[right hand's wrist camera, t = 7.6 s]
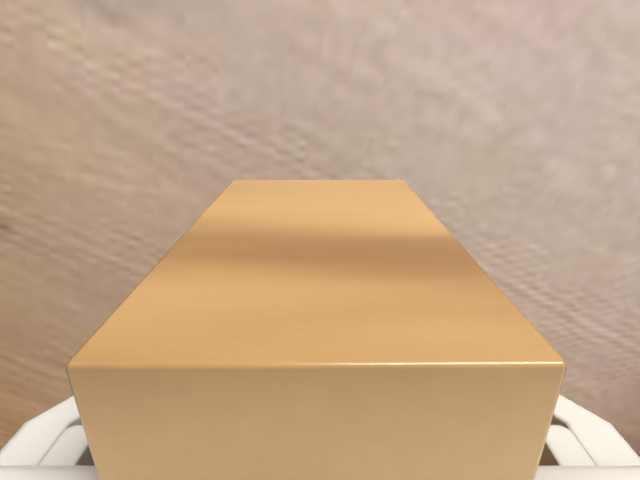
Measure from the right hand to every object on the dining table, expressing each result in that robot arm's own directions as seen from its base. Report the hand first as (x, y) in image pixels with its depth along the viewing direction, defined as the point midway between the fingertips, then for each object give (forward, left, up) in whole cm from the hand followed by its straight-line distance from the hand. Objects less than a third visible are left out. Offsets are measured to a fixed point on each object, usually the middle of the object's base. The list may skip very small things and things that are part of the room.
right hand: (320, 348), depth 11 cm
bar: (0, +10, -4) cm, 11 cm away
